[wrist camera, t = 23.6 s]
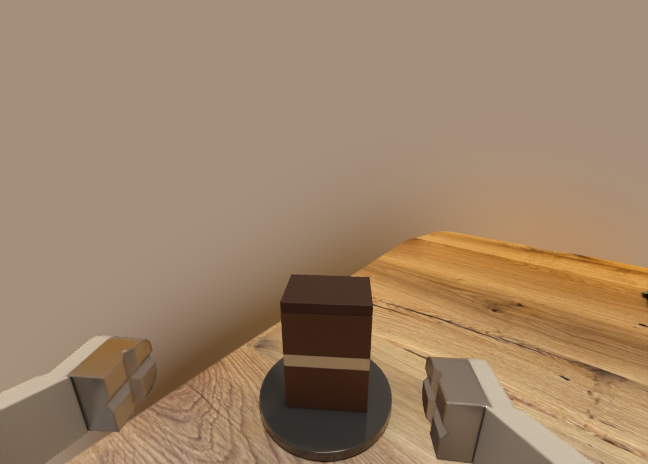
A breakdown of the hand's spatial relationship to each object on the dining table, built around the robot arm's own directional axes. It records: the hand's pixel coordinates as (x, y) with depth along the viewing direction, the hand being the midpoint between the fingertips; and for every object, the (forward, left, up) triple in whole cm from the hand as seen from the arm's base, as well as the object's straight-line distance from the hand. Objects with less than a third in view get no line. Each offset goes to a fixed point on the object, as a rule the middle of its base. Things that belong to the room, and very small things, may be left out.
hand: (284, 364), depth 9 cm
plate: (+5, +11, -14) cm, 18 cm away
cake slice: (+5, +11, -13) cm, 18 cm away
